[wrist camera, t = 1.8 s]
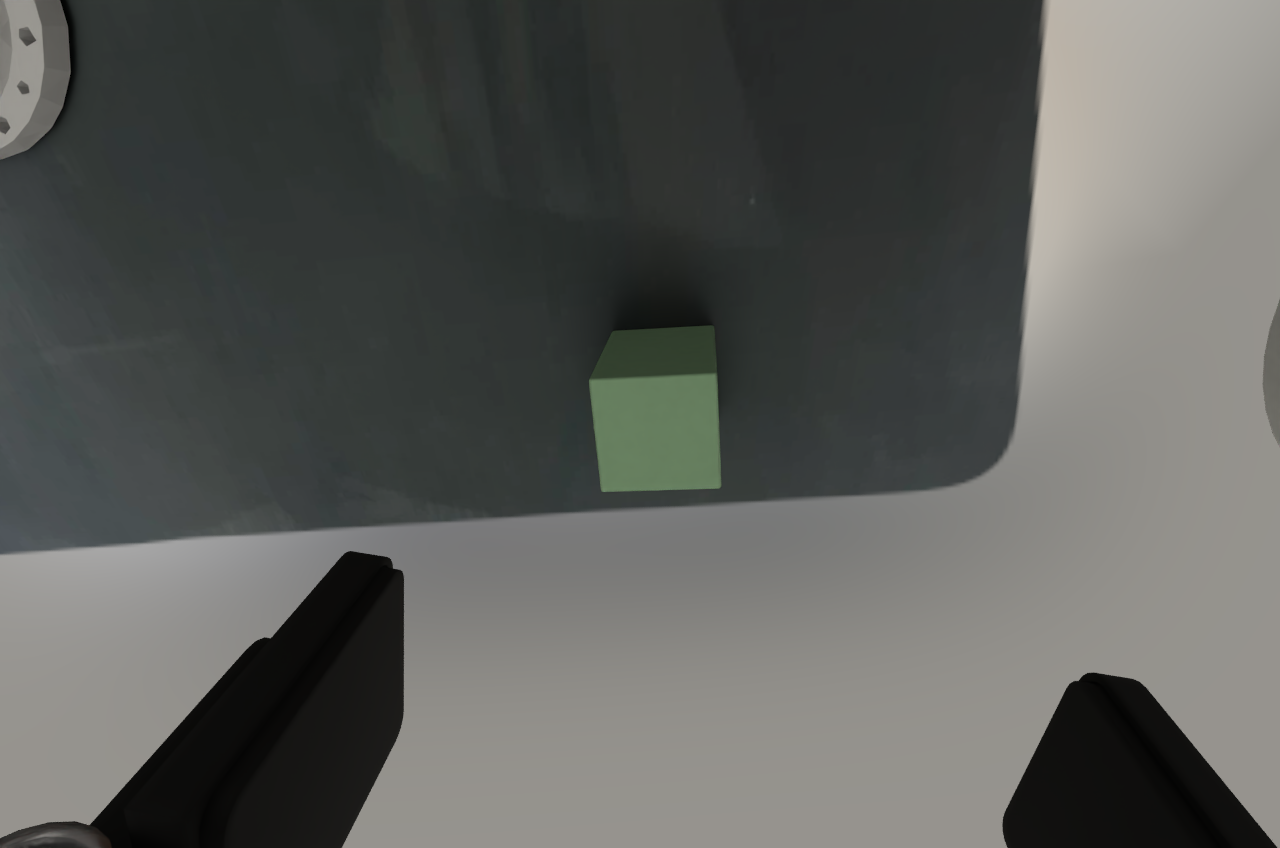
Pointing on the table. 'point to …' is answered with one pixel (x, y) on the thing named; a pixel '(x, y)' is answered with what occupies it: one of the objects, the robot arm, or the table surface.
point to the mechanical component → (31, 71)
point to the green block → (657, 410)
